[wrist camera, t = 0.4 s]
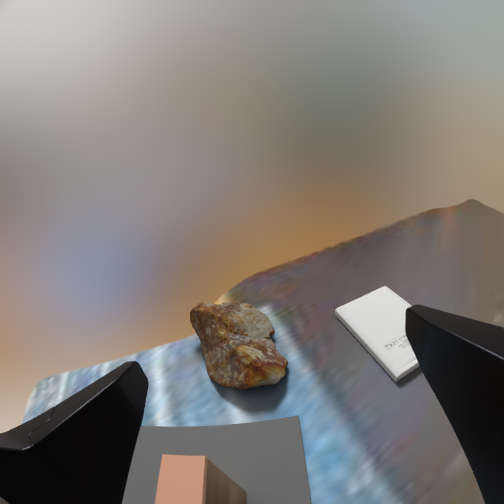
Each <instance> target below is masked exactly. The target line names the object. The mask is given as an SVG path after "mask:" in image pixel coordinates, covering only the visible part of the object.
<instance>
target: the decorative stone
mask: <svg viewBox="0 0 504 504" xmlns="http://www.w3.org/2000/svg"><path fill="white" fill-rule="evenodd" d="M190 321H191V324H192V326H193V328H194V329H195V331H196V333H197V335H198V336H199V338H200V341H201V349H202V351H203V354H204V357H205V362H206V367H207V371H208V374H209V376H210V377H211V379H213V380H214V381H215V382H218V384H220V385H221V386H226V387H236V388H239V389H249V388H252V387H258V386H262V385H275V384H276V383H278V382H279V381H280V380H281V379H282V378H283V377H284V375H285V370H286V366H287V365H288V361H287V360H286V359H285V358H284V357H283V356H282V355H281V354H280V353H279V352H277V350H276V349H275V347H276V346H275V344H274V343H273V342H272V340H271V339H270V335H271V334H273V335H274V329H273V327H272V325H271V321H270V320H269V319H268V317H266V316H265V314H263V313H261V312H260V311H258V310H257V309H256V308H255V307H253V306H252V305H250V304H245V303H244V304H241V303H223V304H220V305H216V304H213V303H198V305H197V306H196V307H195V308H193V309H192V311H191V312H190Z"/></svg>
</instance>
